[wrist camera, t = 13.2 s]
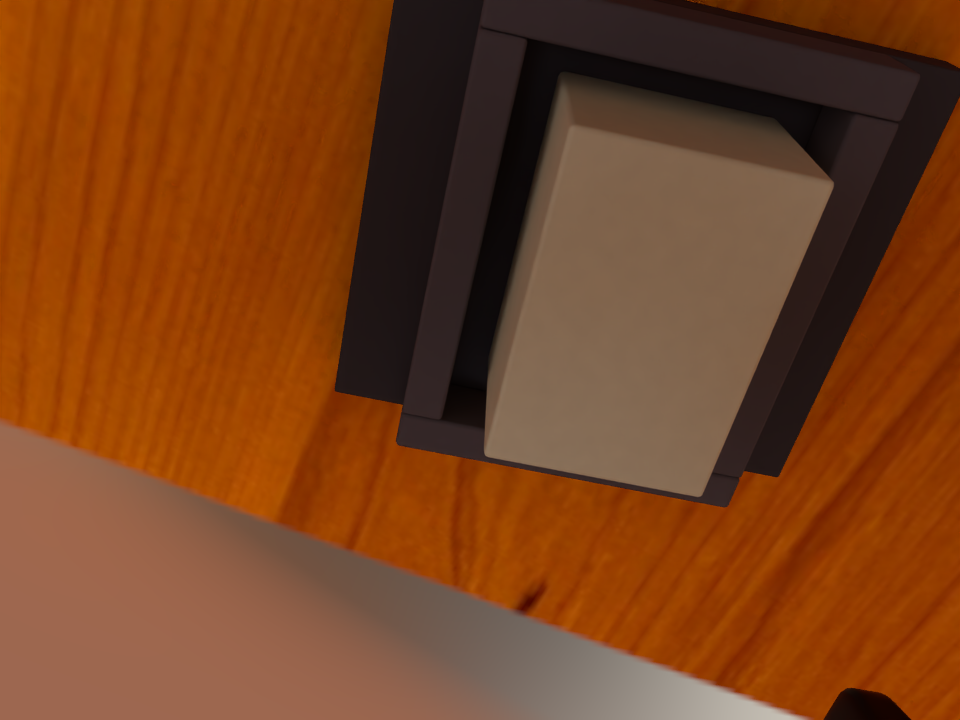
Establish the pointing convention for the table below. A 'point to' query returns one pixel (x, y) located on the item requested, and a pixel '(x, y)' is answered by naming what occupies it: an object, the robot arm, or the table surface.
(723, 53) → the dark gray square tray
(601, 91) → the beige block
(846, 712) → the robot arm
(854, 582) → the table surface
